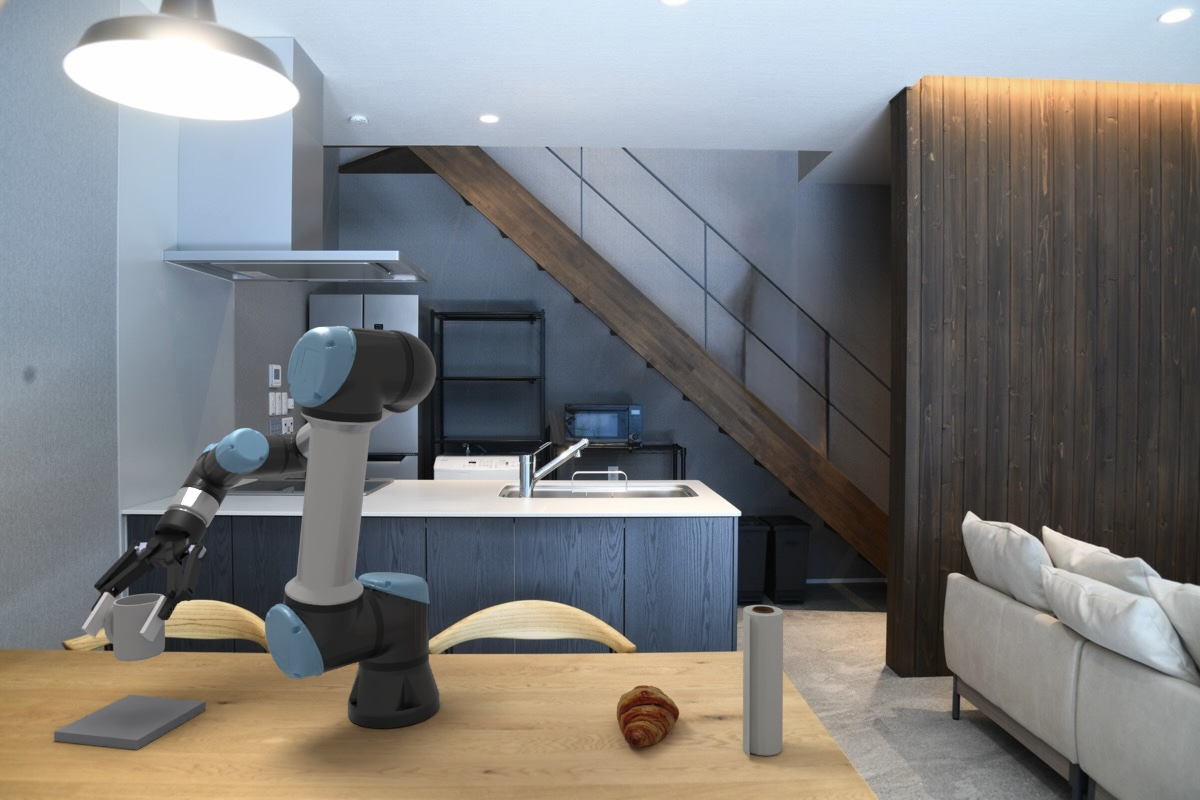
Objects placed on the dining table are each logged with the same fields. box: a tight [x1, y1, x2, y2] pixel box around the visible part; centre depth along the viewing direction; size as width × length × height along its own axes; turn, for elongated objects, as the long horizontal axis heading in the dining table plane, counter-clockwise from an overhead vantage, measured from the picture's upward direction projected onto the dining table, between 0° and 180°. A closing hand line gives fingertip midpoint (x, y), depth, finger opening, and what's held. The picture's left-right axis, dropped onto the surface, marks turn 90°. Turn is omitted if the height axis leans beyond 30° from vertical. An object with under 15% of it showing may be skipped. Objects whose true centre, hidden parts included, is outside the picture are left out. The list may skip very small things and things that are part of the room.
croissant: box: [616, 685, 680, 748], centre depth 128 cm, size 21×10×8 cm, turn 170°
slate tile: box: [53, 694, 207, 751], centre depth 129 cm, size 15×15×2 cm
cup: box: [103, 593, 166, 662], centre depth 129 cm, size 7×10×9 cm
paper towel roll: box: [742, 604, 784, 760], centre depth 120 cm, size 7×6×21 cm
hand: (117, 634), depth 126 cm, fingers closed on cup, 10 cm apart
